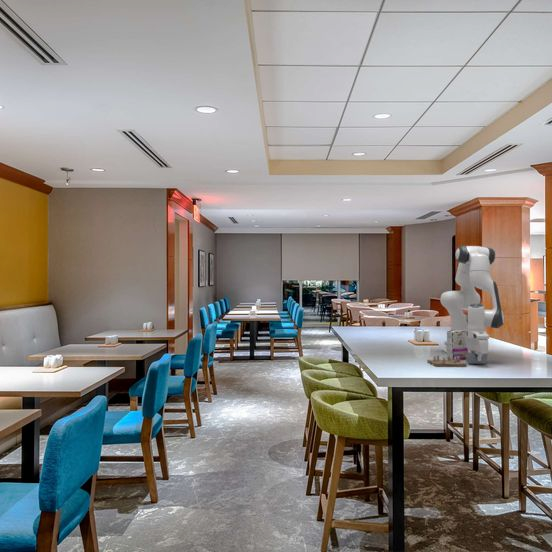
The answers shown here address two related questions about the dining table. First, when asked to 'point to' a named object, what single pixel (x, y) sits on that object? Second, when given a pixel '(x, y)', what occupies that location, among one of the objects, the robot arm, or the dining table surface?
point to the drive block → (475, 358)
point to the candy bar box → (456, 344)
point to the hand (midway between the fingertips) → (476, 359)
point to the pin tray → (447, 362)
